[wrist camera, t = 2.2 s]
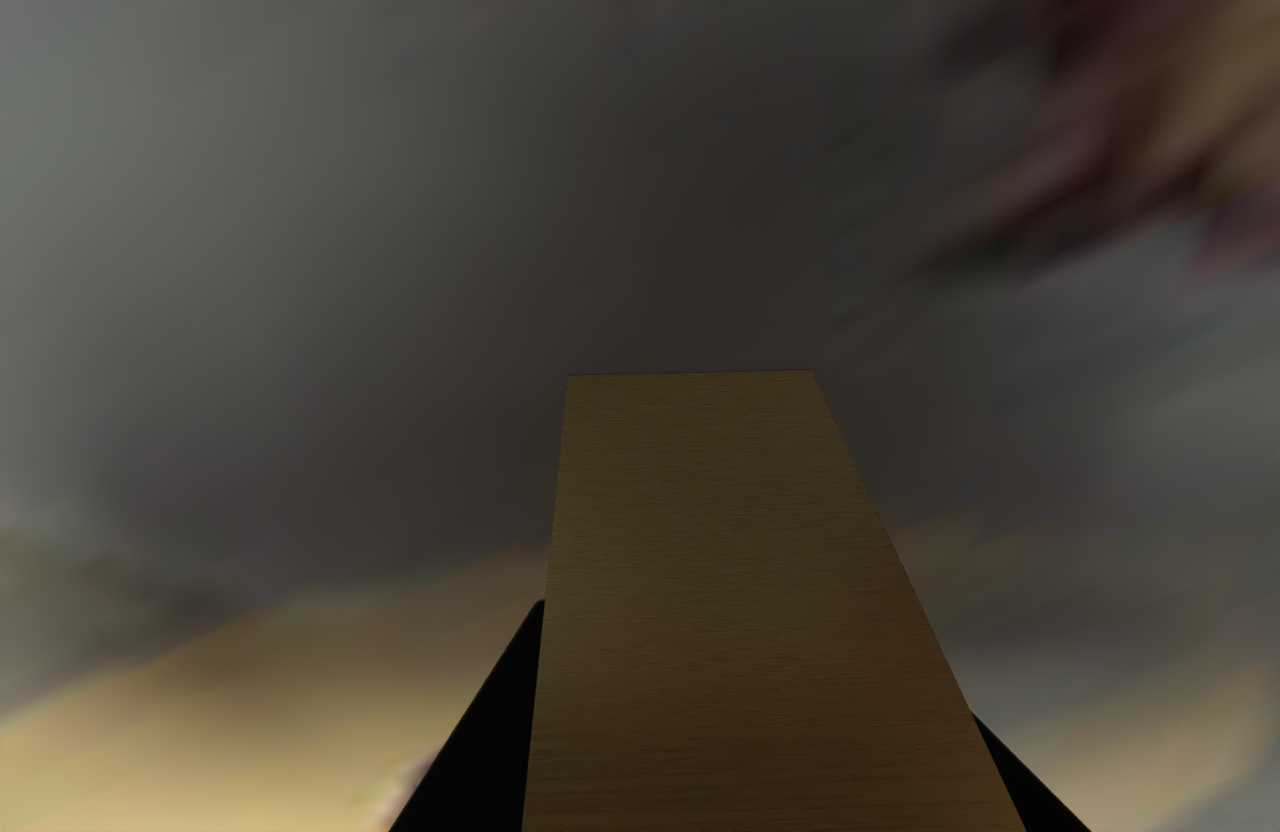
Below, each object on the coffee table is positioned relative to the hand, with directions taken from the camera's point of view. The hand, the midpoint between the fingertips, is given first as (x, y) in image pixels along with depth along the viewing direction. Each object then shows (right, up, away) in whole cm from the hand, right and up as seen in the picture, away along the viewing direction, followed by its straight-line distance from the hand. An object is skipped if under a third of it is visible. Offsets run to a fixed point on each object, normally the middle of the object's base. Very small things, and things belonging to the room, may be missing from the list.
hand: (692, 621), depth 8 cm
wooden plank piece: (0, +1, +1) cm, 1 cm away
